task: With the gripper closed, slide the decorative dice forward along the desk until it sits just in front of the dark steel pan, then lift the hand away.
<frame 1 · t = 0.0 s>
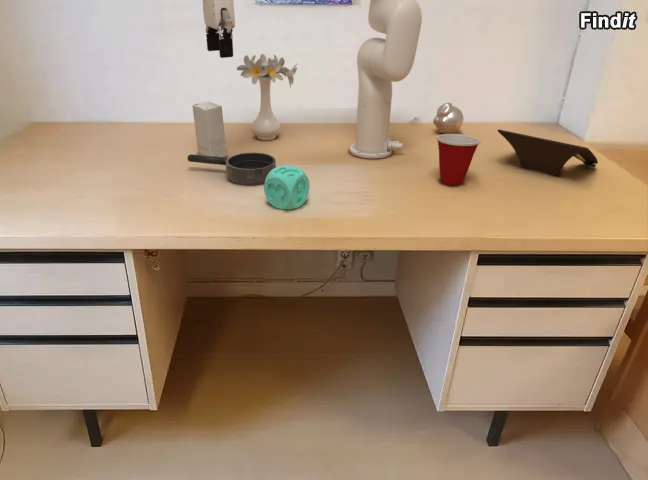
hand: (220, 53, 134), 31 cm above the table, tool pointing down, fingers open, 9 cm apart
silver rounded lump: (446, 134, 180), on the table
pan: (251, 176, 149), on the table
cosmetic box: (211, 155, 164), on the table
flower vase: (268, 137, 179), on the table
laptop tray: (546, 167, 153), on the table
decorative dice: (286, 203, 134), on the table
plastic cup: (451, 182, 145), on the table
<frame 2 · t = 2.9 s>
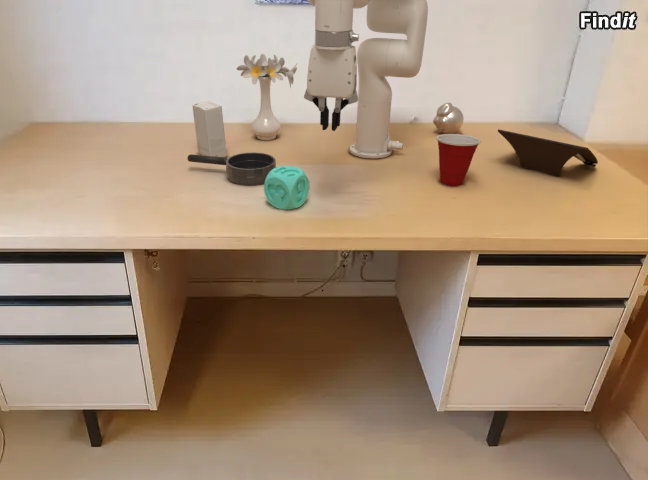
hand: (329, 128, 122), 19 cm above the table, tool pointing down, fingers closed
nothing on the table moved.
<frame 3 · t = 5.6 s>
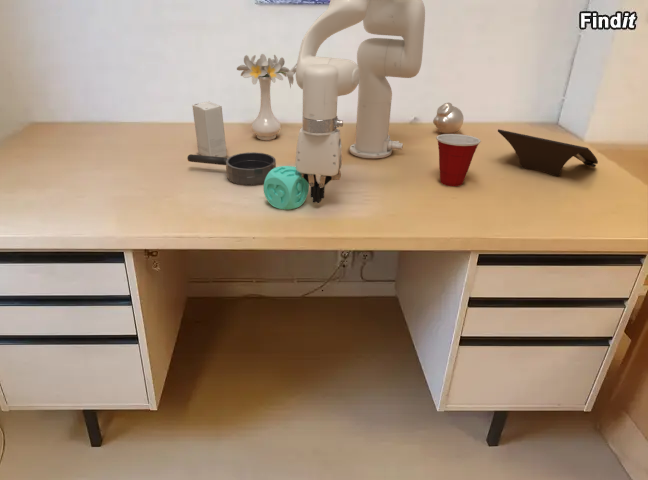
hand: (317, 200, 132), 2 cm above the table, tool pointing down, fingers closed
decorative dice: (286, 203, 134), on the table, touching gripper
everything else where it was.
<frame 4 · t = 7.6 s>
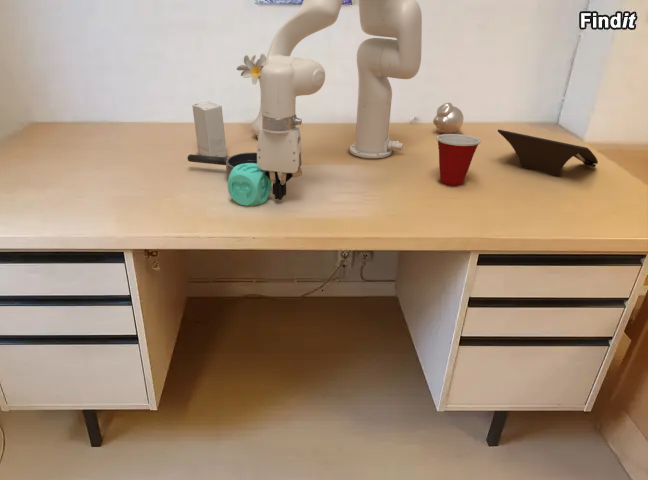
hand: (279, 197, 134), 1 cm above the table, tool pointing down, fingers closed
decorative dice: (250, 200, 136), on the table, touching gripper
everything else where it was.
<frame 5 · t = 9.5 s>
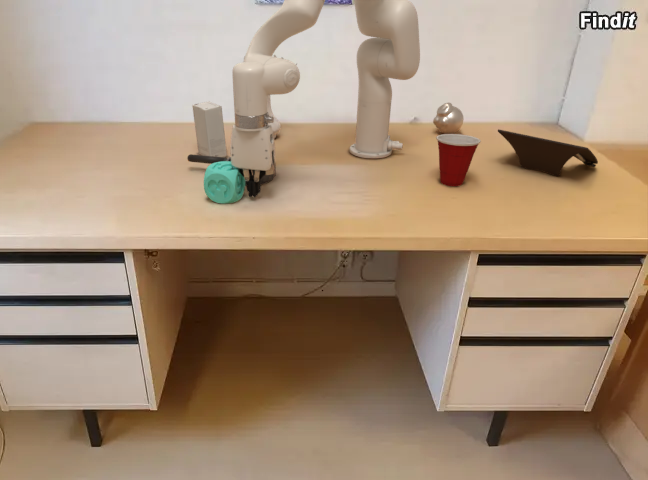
hand: (254, 194, 136), 1 cm above the table, tool pointing down, fingers closed
decorative dice: (226, 198, 138), on the table, touching gripper
everything else where it was.
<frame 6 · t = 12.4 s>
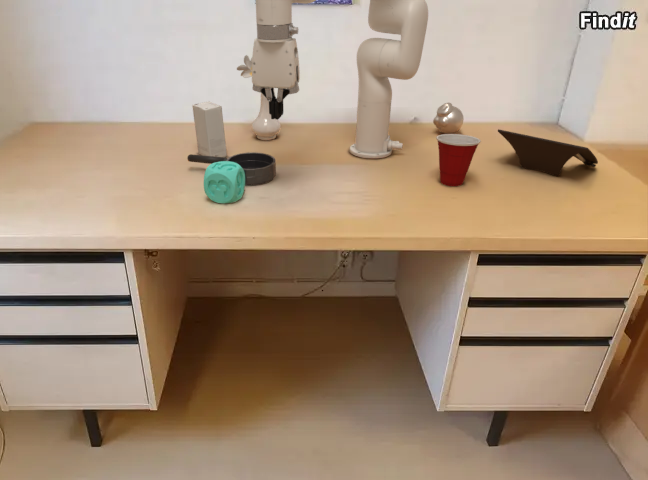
hand: (276, 117, 128), 20 cm above the table, tool pointing down, fingers closed
decorative dice: (225, 197, 138), on the table
everything else where it was.
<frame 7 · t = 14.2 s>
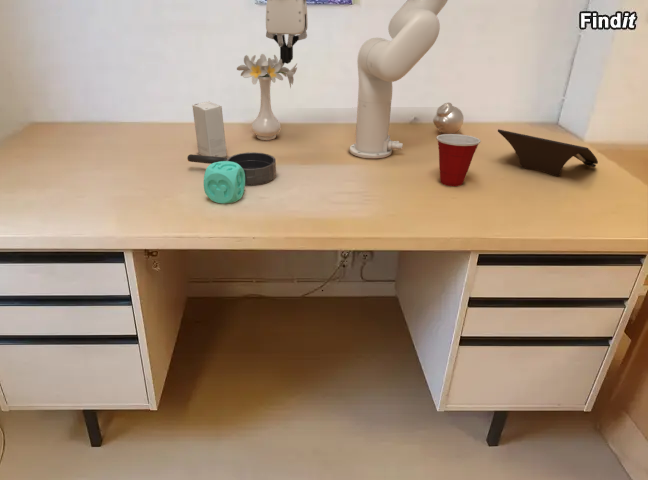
hand: (286, 62, 145), 27 cm above the table, tool pointing down, fingers closed
nothing on the table moved.
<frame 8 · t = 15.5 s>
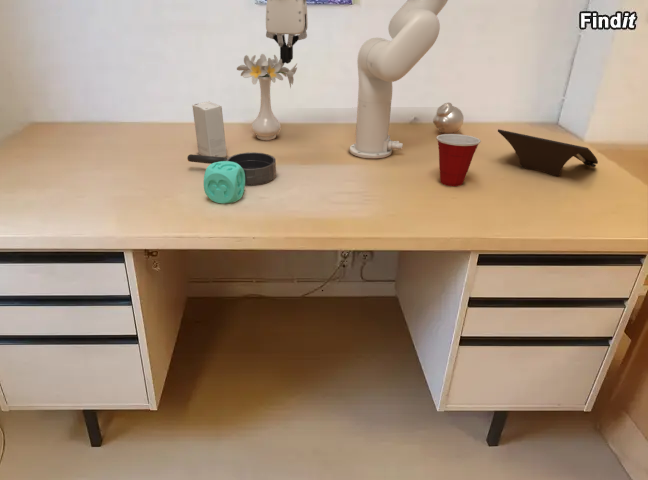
hand: (286, 62, 145), 27 cm above the table, tool pointing down, fingers closed
nothing on the table moved.
at the end: decorative dice inside the target area on the table beside the pan (1.6 cm from its centre), on the table; decorative dice touching table; decorative dice moved 15.7 cm from its start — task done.
